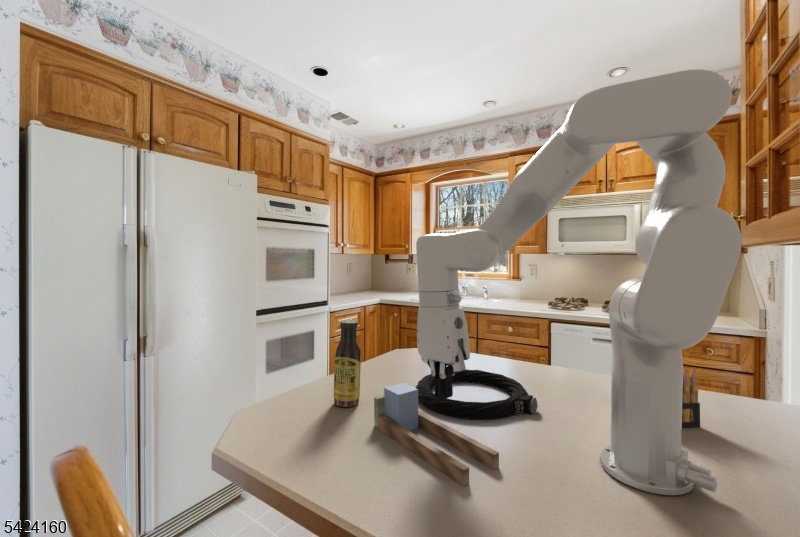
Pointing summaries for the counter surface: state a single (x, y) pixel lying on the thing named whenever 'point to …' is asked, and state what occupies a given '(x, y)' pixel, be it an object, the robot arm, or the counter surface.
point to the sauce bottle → (347, 366)
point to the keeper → (402, 405)
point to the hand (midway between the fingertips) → (443, 396)
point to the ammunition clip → (690, 401)
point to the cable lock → (479, 410)
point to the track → (431, 452)
